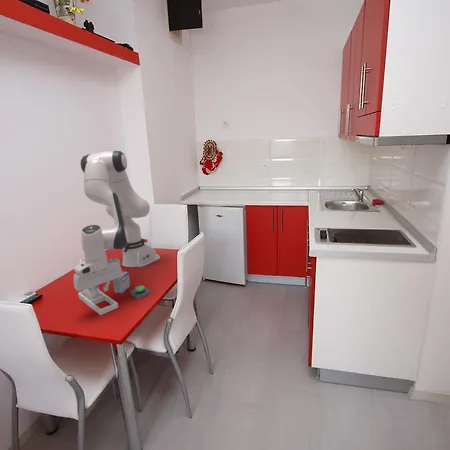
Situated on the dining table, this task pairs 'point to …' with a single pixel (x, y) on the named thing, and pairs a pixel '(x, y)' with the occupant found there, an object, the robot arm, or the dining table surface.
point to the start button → (139, 288)
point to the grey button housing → (141, 294)
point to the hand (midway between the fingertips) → (101, 292)
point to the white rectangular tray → (97, 300)
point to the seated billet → (91, 293)
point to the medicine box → (121, 283)
